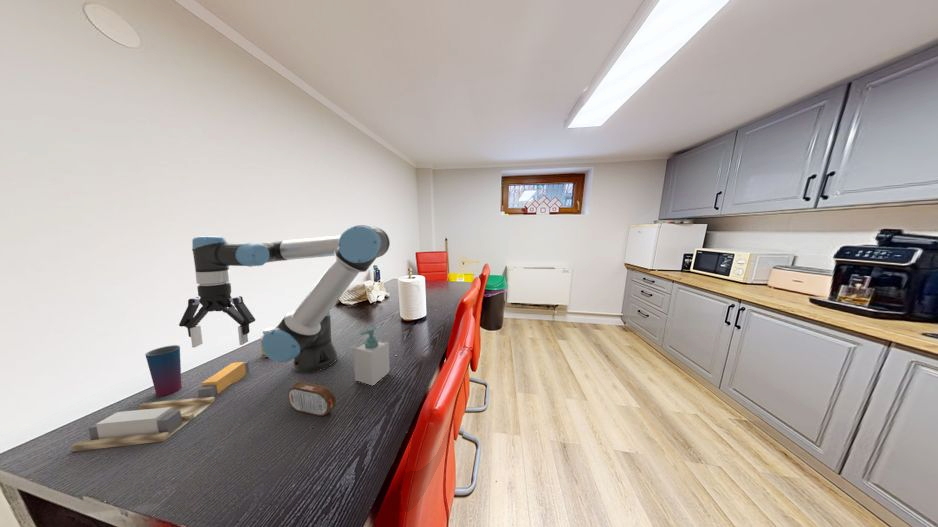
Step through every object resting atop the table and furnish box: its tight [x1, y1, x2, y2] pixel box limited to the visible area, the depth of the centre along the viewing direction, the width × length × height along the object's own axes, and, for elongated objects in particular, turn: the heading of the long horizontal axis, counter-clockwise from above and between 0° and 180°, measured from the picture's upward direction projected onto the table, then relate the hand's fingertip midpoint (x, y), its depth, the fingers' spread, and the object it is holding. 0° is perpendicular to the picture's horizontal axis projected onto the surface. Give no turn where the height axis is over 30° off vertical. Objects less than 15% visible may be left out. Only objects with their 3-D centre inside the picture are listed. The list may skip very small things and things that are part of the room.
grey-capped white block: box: [88, 407, 182, 440], centre depth 61 cm, size 16×4×5 cm, turn 100°
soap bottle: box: [353, 326, 391, 387], centre depth 87 cm, size 9×9×19 cm
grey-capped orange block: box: [197, 361, 250, 398], centre depth 82 cm, size 16×4×5 cm, turn 10°
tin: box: [287, 381, 337, 417], centre depth 70 cm, size 15×3×8 cm, turn 77°
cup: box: [144, 344, 182, 397], centre depth 77 cm, size 7×7×15 cm
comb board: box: [71, 396, 216, 452], centre depth 65 cm, size 18×15×2 cm
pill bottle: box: [260, 326, 277, 358], centre depth 103 cm, size 6×6×12 cm
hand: (221, 344), depth 81 cm, fingers open, 13 cm apart
